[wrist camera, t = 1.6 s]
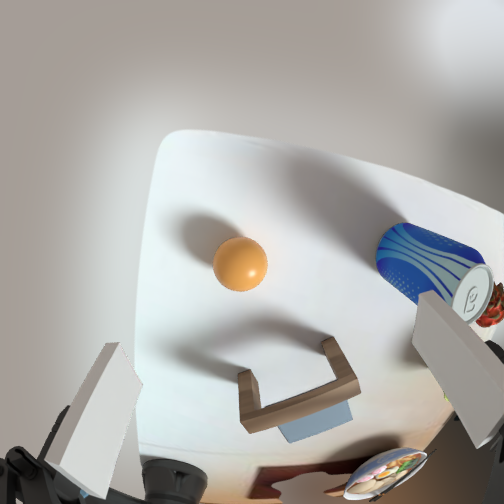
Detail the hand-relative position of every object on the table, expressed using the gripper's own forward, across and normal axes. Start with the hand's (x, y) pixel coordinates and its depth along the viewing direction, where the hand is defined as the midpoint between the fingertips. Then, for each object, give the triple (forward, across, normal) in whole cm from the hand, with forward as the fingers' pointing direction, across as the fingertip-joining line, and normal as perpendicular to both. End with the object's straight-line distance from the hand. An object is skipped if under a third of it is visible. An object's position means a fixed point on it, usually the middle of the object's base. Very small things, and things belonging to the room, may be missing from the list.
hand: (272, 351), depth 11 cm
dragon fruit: (+25, -38, +21) cm, 50 cm away
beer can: (+24, -18, +8) cm, 32 cm away
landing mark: (+21, -4, +36) cm, 42 cm away
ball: (+20, +3, +4) cm, 21 cm away
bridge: (+22, -1, +22) cm, 31 cm away
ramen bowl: (+20, -20, +65) cm, 71 cm away
